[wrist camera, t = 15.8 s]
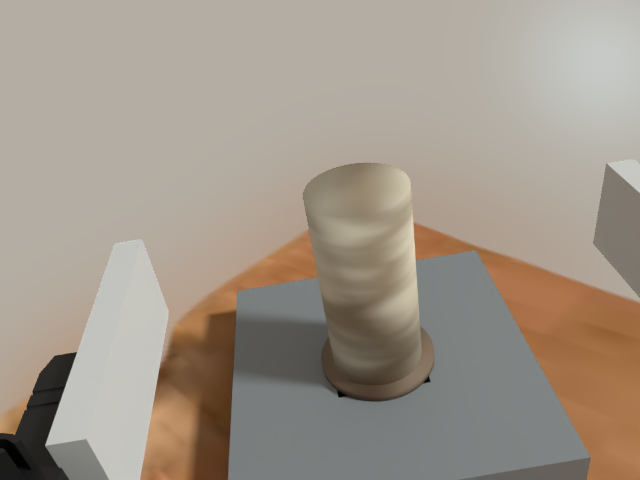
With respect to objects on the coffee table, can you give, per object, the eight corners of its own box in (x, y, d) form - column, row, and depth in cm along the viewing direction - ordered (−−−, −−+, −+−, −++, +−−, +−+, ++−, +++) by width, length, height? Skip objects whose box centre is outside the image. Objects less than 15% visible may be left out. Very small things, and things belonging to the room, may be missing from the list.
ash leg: (333, 437, 38) (292, 236, 29) (323, 355, 45) (286, 169, 36) (448, 418, 38) (441, 210, 29) (421, 338, 45) (408, 148, 36)
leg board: (238, 548, 33) (225, 518, 32) (245, 318, 50) (237, 291, 48) (584, 489, 33) (590, 457, 32) (475, 278, 50) (475, 250, 48)
